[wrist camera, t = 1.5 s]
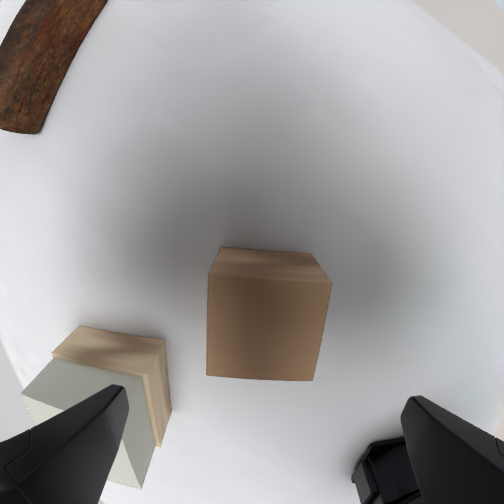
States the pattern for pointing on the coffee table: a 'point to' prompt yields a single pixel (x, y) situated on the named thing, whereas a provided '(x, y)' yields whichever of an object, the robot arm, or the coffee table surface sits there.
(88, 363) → the tower base
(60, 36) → the brick
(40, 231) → the coffee table surface
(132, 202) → the coffee table surface
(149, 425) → the tower top
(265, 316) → the walnut block
